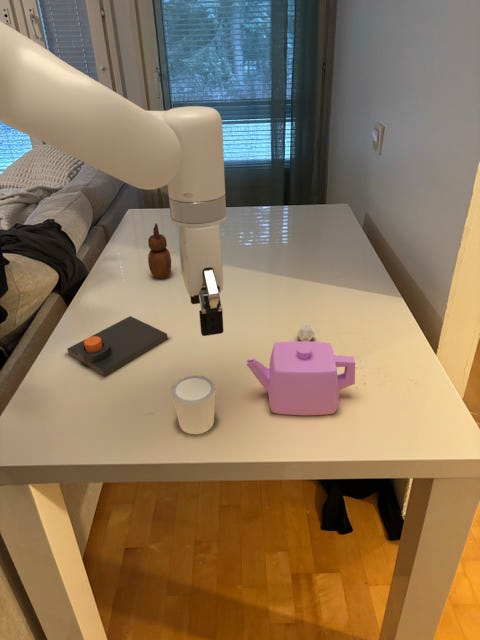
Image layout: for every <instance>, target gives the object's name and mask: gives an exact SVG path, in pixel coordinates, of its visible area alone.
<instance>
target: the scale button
mask: <svg viewBox="0 0 480 640" xmlns="http://www.w3.org/2000/svg"><path fill="white" fill-rule="evenodd" d="M91 336H92V337H91ZM91 336H89V337H87V338H85V339H86V340H85V339H84V340H85V341H84V345H85V349H86V351H87V352H96V351H99V350H101V349H102V347H103V346H102V341H101V338H100V337H97V336H93V335H91Z"/></svg>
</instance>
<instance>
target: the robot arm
mask: <svg viewBox="0 0 480 640" xmlns="http://www.w3.org/2000/svg"><path fill="white" fill-rule="evenodd" d="M0 123H2V124H4V125H6V126H8V127H10V128H12V129H13V130H16V131H18V132H20V133H23V134H25V135H27V136H31V137H33V138H35V139H37V140H39V141H41V142H44V143H46V144H47V145H49V146H51V147H53V148H55V149H57V150H59V151H61V152H63V153H64V154H67V155H68V156H70V157H72V158H74V159H77V160H79V161H81V162H83V163H85V164H87V165H89V166H91V167H93V168H95V169H97V170H98V171H100V172H103V173H105V174H107V175H109V176H111V177H113V178H116V179H117V180H119V181H122V182H123V183H125V184H127V185H130V186H132V187H134V188H137V189H139V190H140V189H141V190H146V191H147V190H158V189H161V188H163V187H165V186H167V192H168V193H167V194H168V202H169V213H170V221H171V223H172V224H174V225H175V226H177V229H178V231H177V233H178V245H179V246H178V247H179V260H180V271H181V273H180V274H181V276H182V279H183V282H184V286H185V289H186V292H187V294H188V296H189V297H190V304H192V305H200V310H199V311H198V313H199V314H198V315H199V325H200V326H199V327H200V333H201V336H203V337H208V336H215V335H221V334H223V333H224V317H223V315H224V313H223V308H222V301H221V297H220V293H221V292H222V291H223V290H224V270H223V269H224V268H223V267H224V266H223V254H222V252H223V251H222V238H221V231H220V230H221V229H220V224H222V223H223V222H225V221H226V219H227V201H226V200H227V199H226V181H225V157H224V132H223V131H224V130H223V119H222V116H221V114H220V113H219V111H218V110H217V109H215V108H213V107H210V106H200V105H196V106H195V105H193V106H192V105H190V106H179V107H174V108H170V109H168V110H146V109H144V108H142V107H141V106H139V105H138V104H136V103H134V102H132V101H131V100H129V99H127V98H126V97H124V96H122V95H121V94H119V93H117V92H115V91H114V90H112V89H111V88H109V87H107V86H106V85H104V84H102V83H101V82H99V81H98V80H96V79H94V78H92V77H90V76H88V75H87V74H86V73H84V72H81V70H79V69H77V68H75V67H73V66H72V65H70V64H68V63H67V62H66V61H64V60H63V59H61V58H59V57H58V56H57V55H55V53H52V52H51V51H50V50H48V49H47V48H45V47H44V46H42V45H41V44H39V43H38V42H36V41H34V40H33V39H31V38H29V37H28V36H26V35H24V34H23V33H21V32H20V31H17V30H16V29H14V28H13V27H11V26H9V25H7V24H6V23H4V22H3V21H1V20H0Z"/></svg>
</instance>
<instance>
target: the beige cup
mask: <svg viewBox="0 0 480 640" xmlns="http://www.w3.org/2000/svg"><path fill="white" fill-rule="evenodd" d="M170 391H171V397H172V401H173V405H174V408H175V412H176V416H177V417H176V418H177V420H178V425H179V427H180V429H181V430H182V432H184V433H186V434H189V435H201V434H204V433H206V432H208V431H209V430H210V429H211V428H213V426H214V422H215V405H216V386H215V383H214V382H213V380H211V379H210V378H209V377H206V376H203V375H190V376H189V375H188V376H185V377H183V378H180V379H178V380H177V381H176V382H175V383H174V384H173V385H172V387H171V389H170Z"/></svg>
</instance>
